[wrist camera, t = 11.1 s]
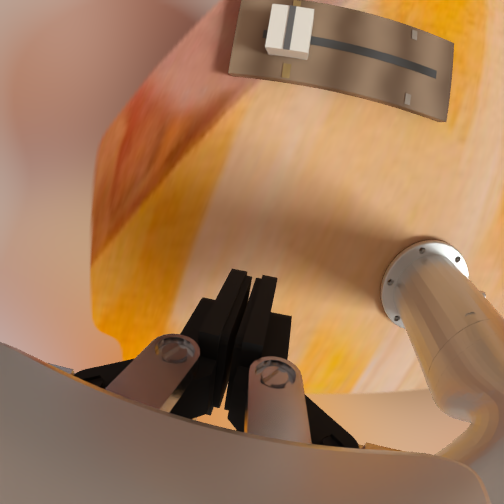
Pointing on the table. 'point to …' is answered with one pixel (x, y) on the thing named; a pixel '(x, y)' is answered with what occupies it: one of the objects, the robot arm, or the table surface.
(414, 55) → the fader board
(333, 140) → the table surface
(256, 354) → the robot arm
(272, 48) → the fader knob
